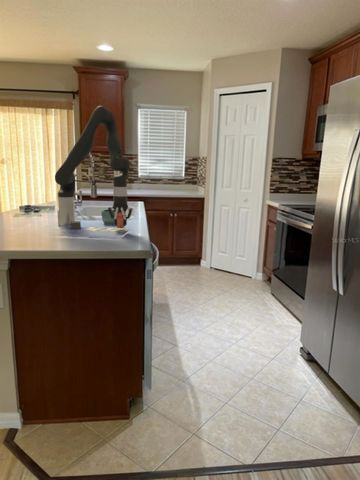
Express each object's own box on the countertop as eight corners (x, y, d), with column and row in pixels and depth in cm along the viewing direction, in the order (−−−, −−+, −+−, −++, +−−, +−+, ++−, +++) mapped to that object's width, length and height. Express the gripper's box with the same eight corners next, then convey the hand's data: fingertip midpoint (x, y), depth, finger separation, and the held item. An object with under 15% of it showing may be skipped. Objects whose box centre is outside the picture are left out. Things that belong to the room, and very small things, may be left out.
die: (71, 231, 196) (70, 222, 195) (71, 229, 201) (71, 220, 200) (80, 231, 198) (80, 222, 196) (80, 229, 202) (80, 220, 201)
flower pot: (119, 224, 221) (119, 209, 219) (115, 226, 213) (115, 211, 211) (105, 223, 222) (105, 209, 220) (101, 226, 214) (100, 211, 212)
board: (84, 232, 194) (84, 230, 194) (90, 229, 204) (90, 227, 203) (124, 234, 192) (124, 232, 192) (128, 230, 202) (128, 228, 201)
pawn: (116, 227, 195) (115, 211, 193) (118, 226, 199) (117, 210, 197) (123, 228, 194) (123, 212, 192) (125, 226, 198) (124, 211, 196)
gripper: (105, 195, 189) (106, 226, 193) (131, 196, 188) (131, 227, 192) (109, 193, 197) (110, 224, 200) (134, 194, 195) (134, 225, 199)
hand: (120, 225), depth 196 cm, fingers closed on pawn, 4 cm apart
